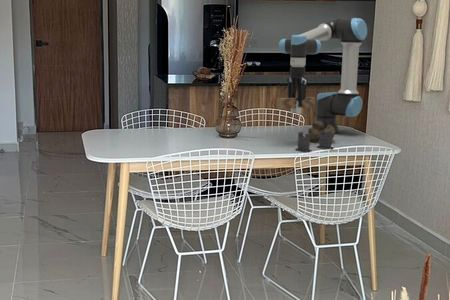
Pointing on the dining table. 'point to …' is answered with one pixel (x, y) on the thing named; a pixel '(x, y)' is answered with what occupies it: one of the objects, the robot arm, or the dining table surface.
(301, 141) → the standards
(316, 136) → the decorative stone
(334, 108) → the robot arm
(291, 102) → the rail
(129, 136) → the dining table surface
